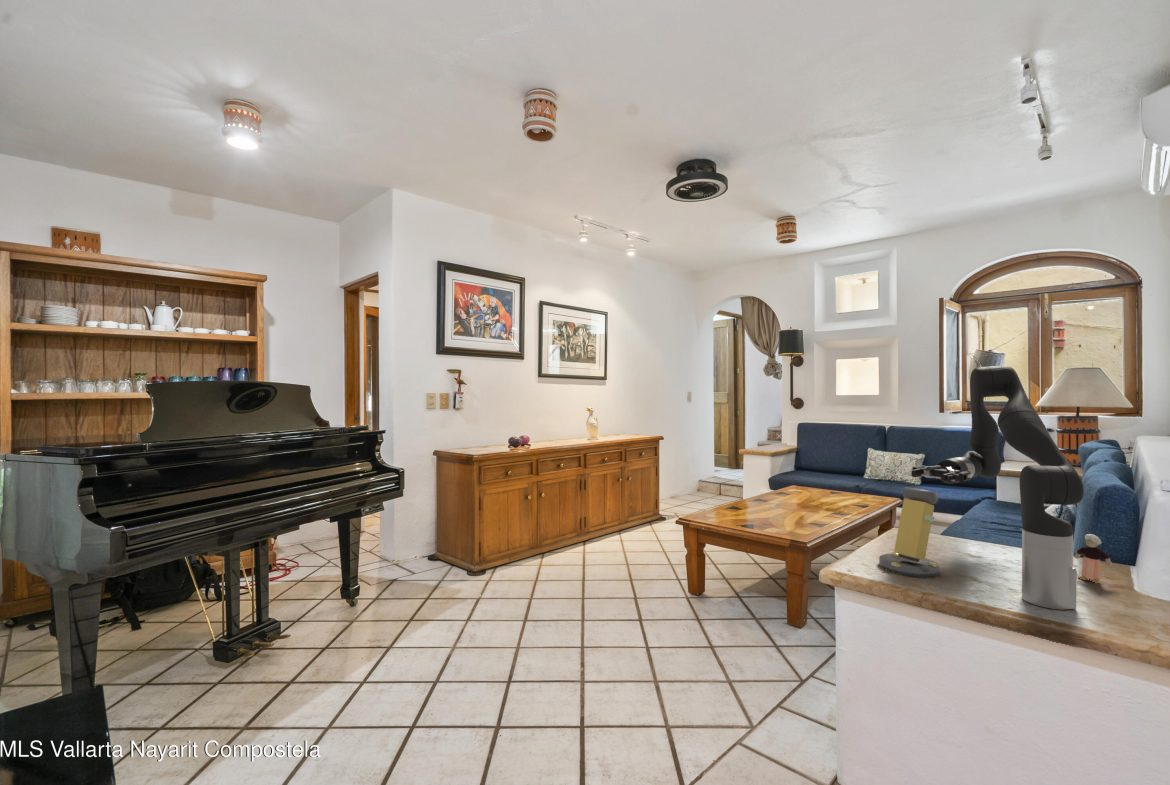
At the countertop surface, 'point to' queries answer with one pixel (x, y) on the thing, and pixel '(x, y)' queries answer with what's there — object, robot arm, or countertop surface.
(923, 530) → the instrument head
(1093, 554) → the grandmother figurine
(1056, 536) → the robot arm
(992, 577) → the countertop surface
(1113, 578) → the countertop surface
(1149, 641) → the countertop surface
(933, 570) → the levelling base
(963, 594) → the countertop surface
